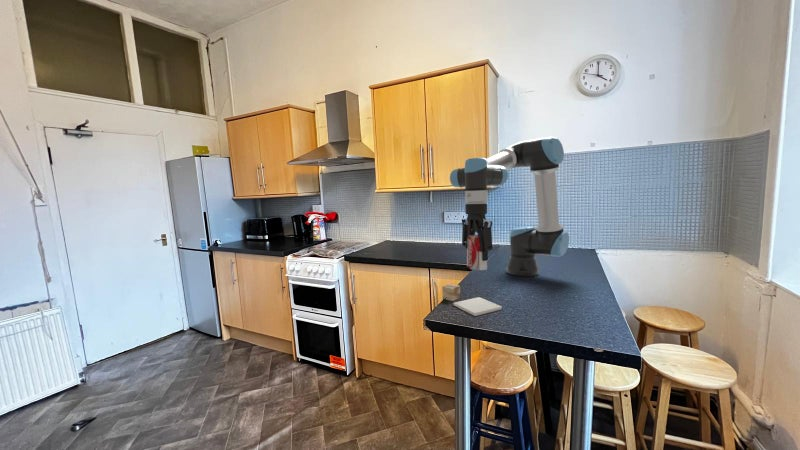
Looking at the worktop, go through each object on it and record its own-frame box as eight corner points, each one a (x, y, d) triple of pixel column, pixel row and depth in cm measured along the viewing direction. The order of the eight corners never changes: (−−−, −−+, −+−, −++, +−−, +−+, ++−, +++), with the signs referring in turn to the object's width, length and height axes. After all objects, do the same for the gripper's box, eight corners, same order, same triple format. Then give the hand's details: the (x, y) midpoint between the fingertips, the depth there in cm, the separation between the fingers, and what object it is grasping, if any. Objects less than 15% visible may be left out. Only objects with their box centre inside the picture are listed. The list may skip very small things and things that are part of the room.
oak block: (449, 295, 129) (449, 283, 128) (460, 298, 125) (460, 285, 125) (442, 298, 125) (442, 286, 124) (453, 301, 122) (452, 288, 121)
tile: (479, 299, 122) (479, 297, 122) (501, 309, 112) (501, 306, 111) (453, 305, 117) (453, 302, 117) (474, 316, 106) (474, 313, 106)
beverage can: (464, 267, 115) (463, 235, 114) (478, 266, 117) (478, 233, 116) (474, 271, 109) (473, 237, 108) (489, 269, 111) (489, 235, 110)
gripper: (451, 203, 118) (452, 264, 120) (486, 203, 100) (487, 274, 103) (467, 202, 121) (468, 261, 123) (504, 202, 104) (504, 271, 106)
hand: (476, 267), depth 113 cm, fingers closed on beverage can, 6 cm apart
